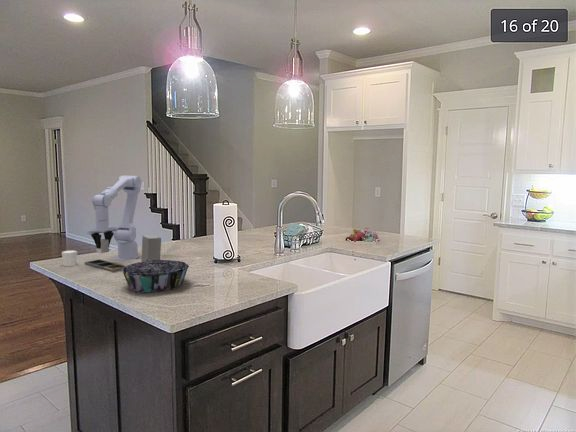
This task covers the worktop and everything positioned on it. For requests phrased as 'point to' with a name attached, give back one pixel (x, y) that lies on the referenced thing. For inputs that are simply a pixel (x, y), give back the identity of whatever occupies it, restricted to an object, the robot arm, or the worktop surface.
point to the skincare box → (151, 247)
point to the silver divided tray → (105, 265)
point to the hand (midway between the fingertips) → (102, 247)
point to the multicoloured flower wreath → (363, 235)
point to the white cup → (69, 258)
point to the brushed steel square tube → (103, 246)
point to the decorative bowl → (155, 275)
